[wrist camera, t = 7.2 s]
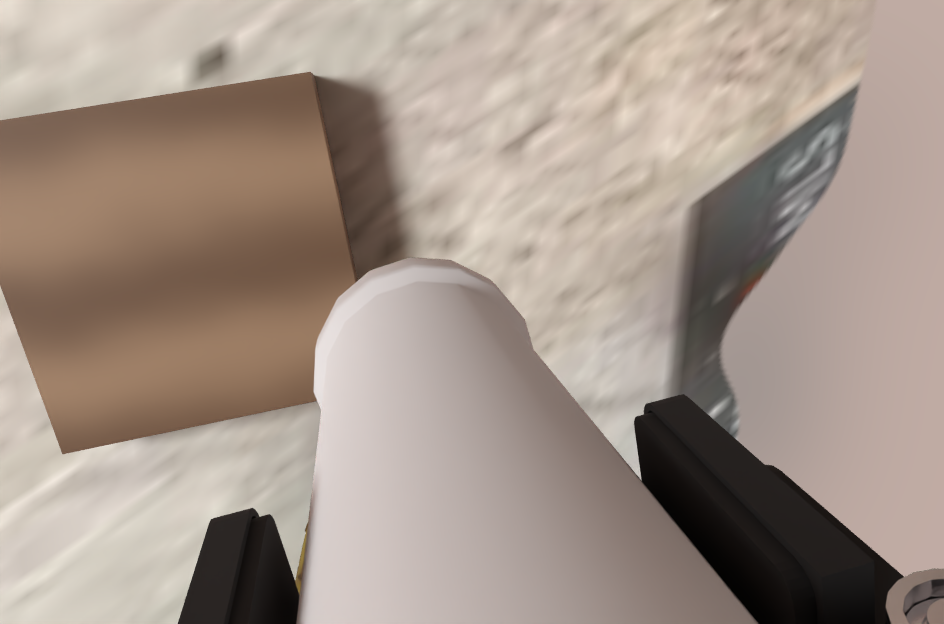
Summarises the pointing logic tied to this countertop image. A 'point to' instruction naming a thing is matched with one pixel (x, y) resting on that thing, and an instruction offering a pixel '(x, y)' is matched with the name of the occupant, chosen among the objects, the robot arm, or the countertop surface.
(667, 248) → the countertop surface
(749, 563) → the robot arm
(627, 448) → the countertop surface
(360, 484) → the bottle
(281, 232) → the walnut plinth
